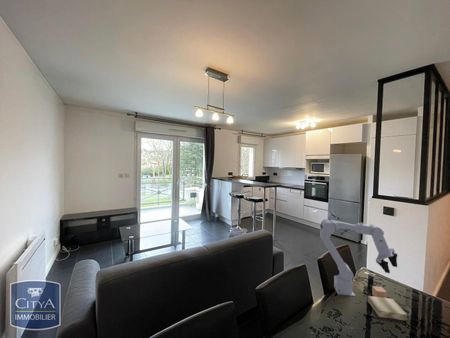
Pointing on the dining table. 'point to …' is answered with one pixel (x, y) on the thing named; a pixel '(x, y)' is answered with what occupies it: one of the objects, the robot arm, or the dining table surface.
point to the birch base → (387, 308)
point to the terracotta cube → (379, 292)
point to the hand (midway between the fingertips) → (391, 269)
